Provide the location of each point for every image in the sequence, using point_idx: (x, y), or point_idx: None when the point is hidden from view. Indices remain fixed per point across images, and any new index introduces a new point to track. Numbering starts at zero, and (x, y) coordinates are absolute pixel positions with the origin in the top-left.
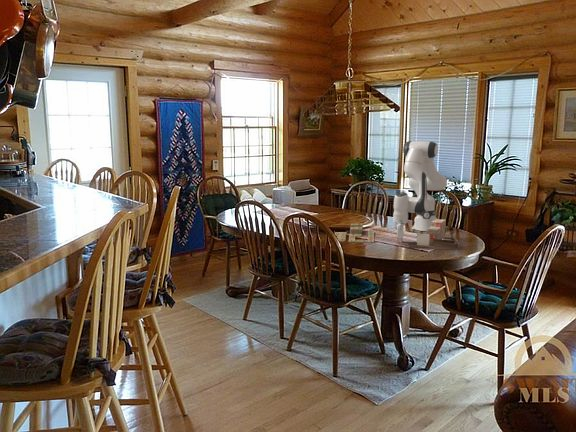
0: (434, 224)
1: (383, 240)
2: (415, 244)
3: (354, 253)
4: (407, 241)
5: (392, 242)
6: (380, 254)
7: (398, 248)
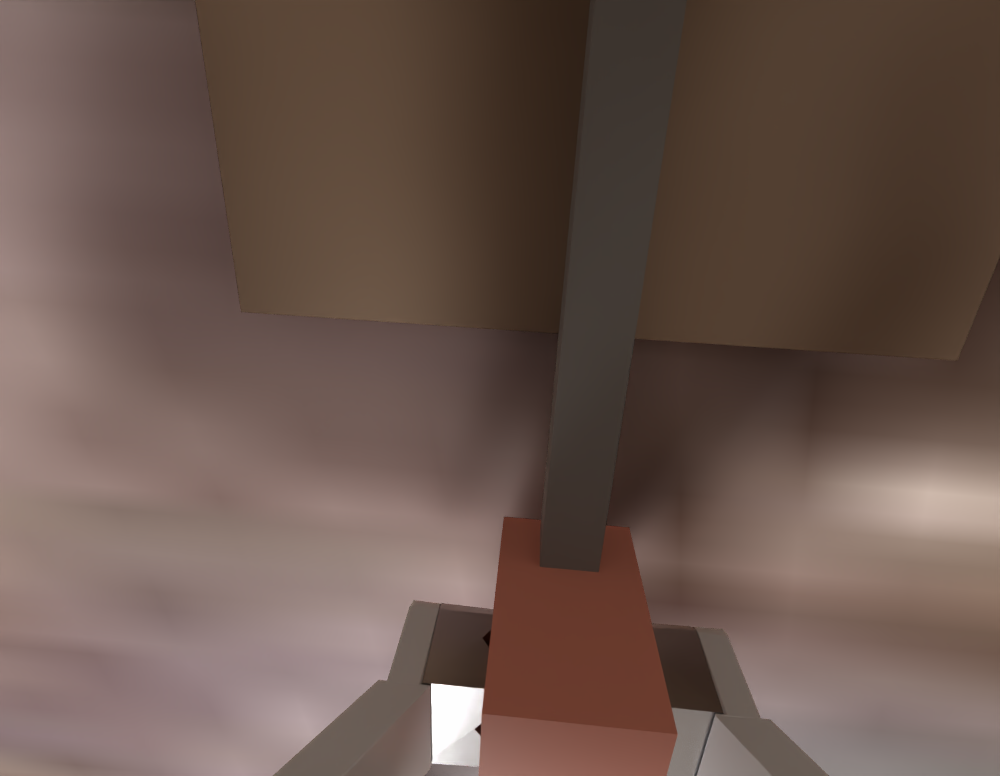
0: None
1: (164, 771)
2: None
3: None
4: (565, 401)
5: (285, 653)
6: None
7: (914, 601)
